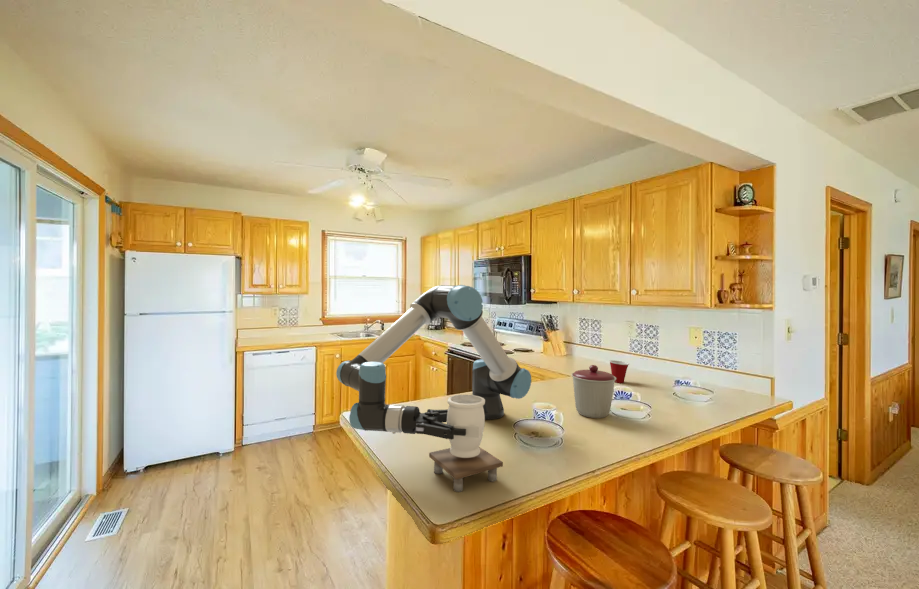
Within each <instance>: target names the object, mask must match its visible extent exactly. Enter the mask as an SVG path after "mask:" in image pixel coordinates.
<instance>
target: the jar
mask: <svg viewBox="0 0 919 589" xmlns="http://www.w3.org/2000/svg"><path fill="white" fill-rule="evenodd" d="M447 404H448V408H447V409H448V412H447V422H446V424H448V425H451V426H455V425H463V426H478V427H479V438H475V437H463V436H454V439H452V440H451V439H448V440H449V443H450V445H451V446H450V447H449V448H450V452H451V454H452V455H454V456H457V457H461V458H471V457H475V456H477V455H479V454H480V449H479V447H480V446H481V443H482V440H483V436H484V431H485V430H484V429H485V421H486V419H485V415H484V409H483V405H484V404H485V399H484V398H482V397H479V396H475V395H472V394H456V395H452V396H449V397H447Z"/></svg>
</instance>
